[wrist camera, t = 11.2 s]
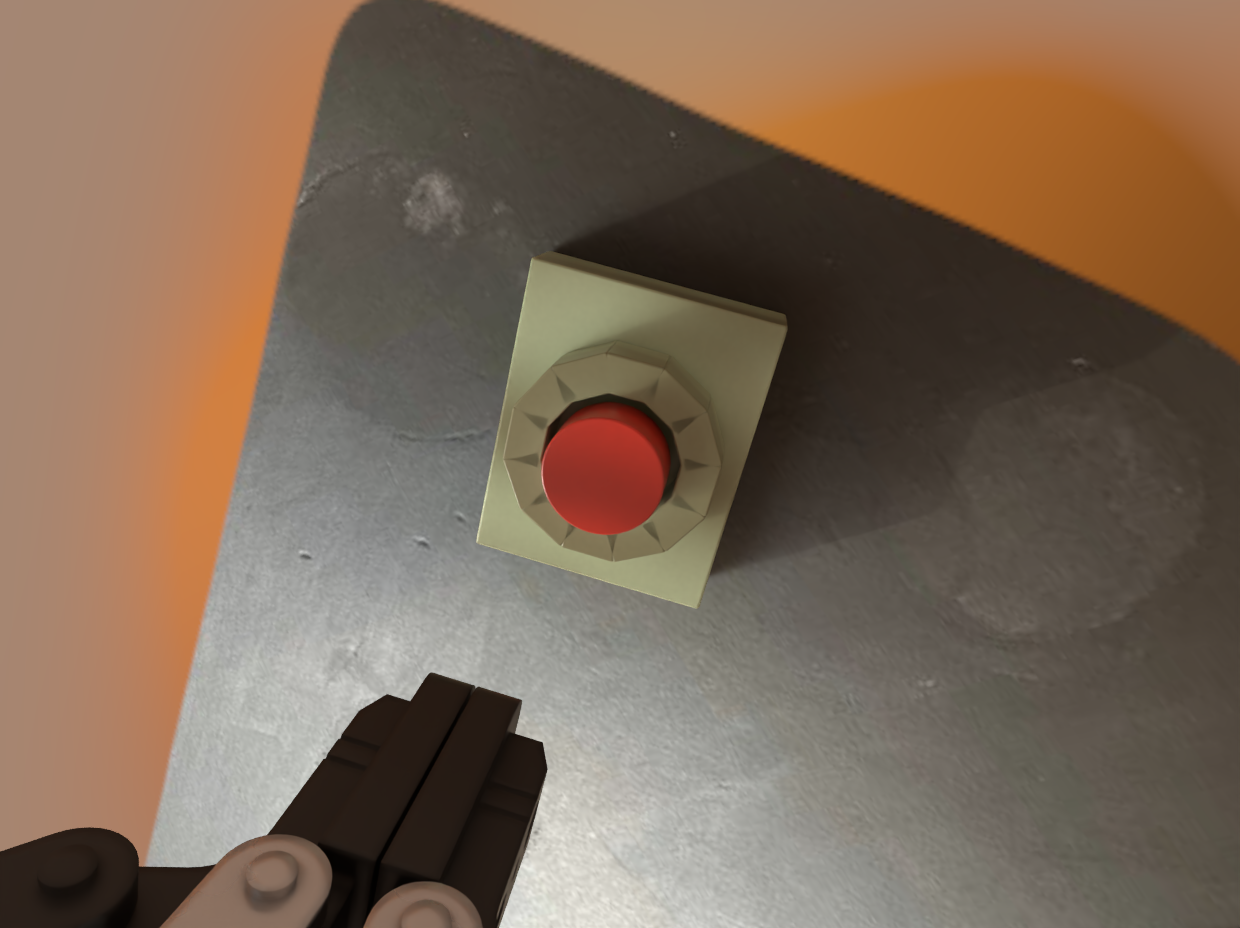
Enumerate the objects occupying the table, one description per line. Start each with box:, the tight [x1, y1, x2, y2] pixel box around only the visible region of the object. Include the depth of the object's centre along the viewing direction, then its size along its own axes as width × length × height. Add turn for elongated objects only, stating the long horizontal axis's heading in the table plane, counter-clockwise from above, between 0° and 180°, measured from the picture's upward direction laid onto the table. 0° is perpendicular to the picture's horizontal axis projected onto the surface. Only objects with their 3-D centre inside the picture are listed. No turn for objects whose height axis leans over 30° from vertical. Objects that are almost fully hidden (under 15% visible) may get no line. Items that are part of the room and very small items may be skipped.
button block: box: [476, 251, 788, 608], centre depth 27 cm, size 10×8×4 cm
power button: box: [541, 402, 671, 535], centre depth 25 cm, size 4×4×2 cm
